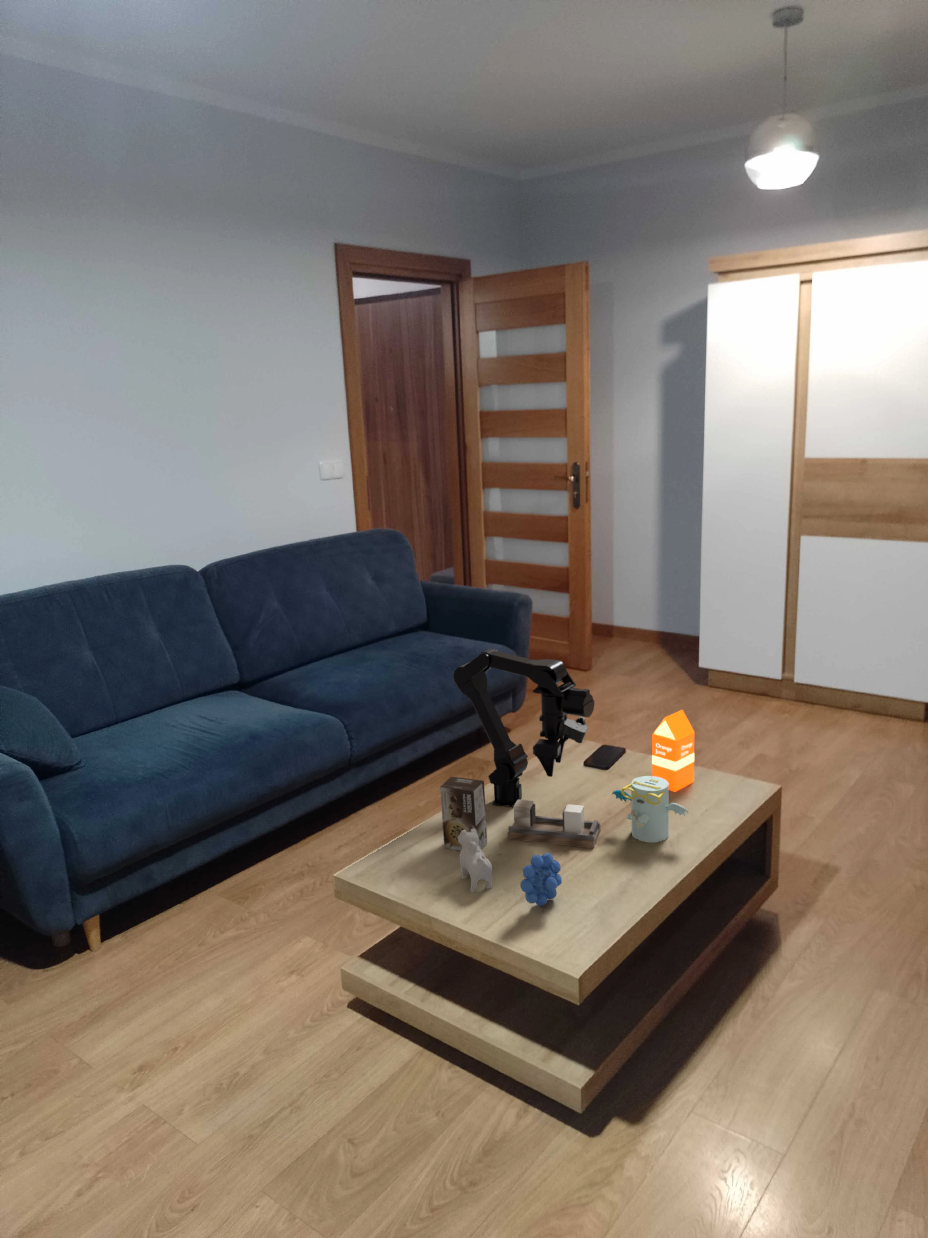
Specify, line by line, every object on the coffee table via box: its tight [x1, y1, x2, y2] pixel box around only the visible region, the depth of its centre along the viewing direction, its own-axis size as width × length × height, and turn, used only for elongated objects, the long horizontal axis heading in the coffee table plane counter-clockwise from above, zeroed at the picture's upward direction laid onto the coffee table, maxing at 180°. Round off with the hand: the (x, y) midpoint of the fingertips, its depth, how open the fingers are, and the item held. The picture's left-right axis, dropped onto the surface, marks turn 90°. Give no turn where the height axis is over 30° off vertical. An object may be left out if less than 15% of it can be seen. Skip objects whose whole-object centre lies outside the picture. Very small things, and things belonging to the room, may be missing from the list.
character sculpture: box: [611, 775, 689, 843], centre depth 218 cm, size 20×12×13 cm, turn 52°
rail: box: [507, 799, 602, 849], centre depth 222 cm, size 21×9×8 cm, turn 71°
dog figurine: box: [458, 829, 493, 893], centre depth 203 cm, size 5×13×11 cm, turn 20°
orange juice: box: [651, 709, 695, 793], centre depth 246 cm, size 8×9×20 cm
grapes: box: [520, 852, 563, 907], centre depth 190 cm, size 12×7×12 cm, turn 132°
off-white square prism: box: [562, 803, 585, 833], centre depth 220 cm, size 4×4×6 cm
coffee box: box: [439, 776, 488, 852], centre depth 218 cm, size 9×6×16 cm
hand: (554, 769), depth 232 cm, fingers open, 9 cm apart
